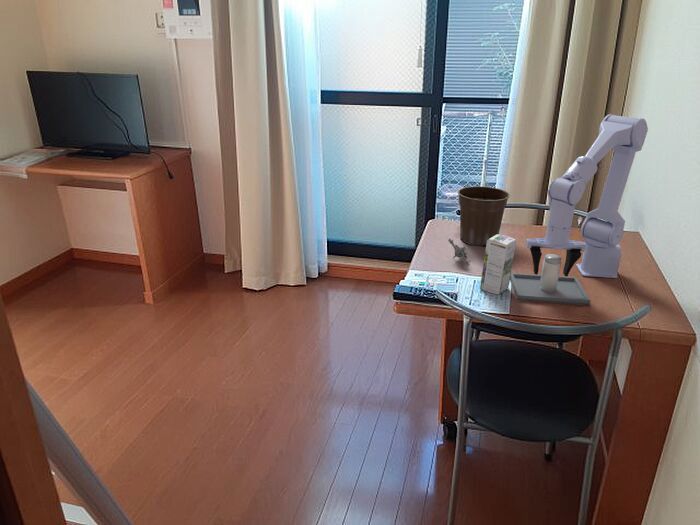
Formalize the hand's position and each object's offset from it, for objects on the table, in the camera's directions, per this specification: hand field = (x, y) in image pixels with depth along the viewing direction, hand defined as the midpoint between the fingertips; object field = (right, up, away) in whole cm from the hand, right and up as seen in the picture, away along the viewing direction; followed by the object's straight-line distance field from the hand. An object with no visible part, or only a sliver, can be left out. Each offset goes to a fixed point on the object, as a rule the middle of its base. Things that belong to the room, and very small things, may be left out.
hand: (550, 273), depth 143 cm
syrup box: (-14, -4, +3) cm, 15 cm away
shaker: (0, -4, +2) cm, 4 cm away
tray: (0, -5, +2) cm, 5 cm away
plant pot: (-11, +10, +36) cm, 39 cm away
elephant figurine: (-20, +4, +21) cm, 29 cm away
